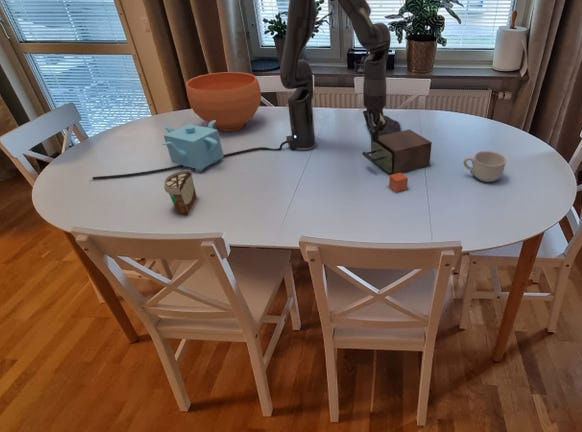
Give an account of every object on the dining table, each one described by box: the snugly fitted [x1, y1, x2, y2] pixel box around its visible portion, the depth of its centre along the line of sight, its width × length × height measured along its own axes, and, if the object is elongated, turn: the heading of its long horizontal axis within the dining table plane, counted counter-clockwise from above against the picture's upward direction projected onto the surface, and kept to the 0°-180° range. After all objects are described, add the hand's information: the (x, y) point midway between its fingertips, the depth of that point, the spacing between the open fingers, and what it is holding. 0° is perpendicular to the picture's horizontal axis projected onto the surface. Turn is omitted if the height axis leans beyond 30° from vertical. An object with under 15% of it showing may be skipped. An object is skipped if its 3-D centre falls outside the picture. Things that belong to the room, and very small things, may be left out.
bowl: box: [185, 71, 262, 132], centre depth 173 cm, size 30×30×20 cm
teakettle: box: [161, 120, 225, 173], centre depth 143 cm, size 19×19×15 cm
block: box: [388, 172, 409, 193], centre depth 131 cm, size 4×4×4 cm
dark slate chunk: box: [367, 114, 402, 136], centre depth 172 cm, size 15×22×5 cm
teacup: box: [462, 150, 507, 183], centre depth 136 cm, size 14×11×8 cm
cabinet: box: [377, 129, 433, 175], centre depth 145 cm, size 16×14×9 cm
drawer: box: [361, 140, 393, 174], centre depth 144 cm, size 20×13×7 cm, turn 119°
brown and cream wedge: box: [163, 169, 198, 216], centre depth 120 cm, size 12×6×10 cm, turn 5°
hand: (374, 141), depth 137 cm, fingers closed
